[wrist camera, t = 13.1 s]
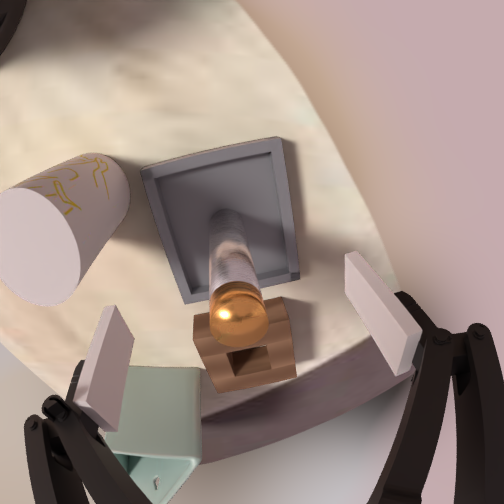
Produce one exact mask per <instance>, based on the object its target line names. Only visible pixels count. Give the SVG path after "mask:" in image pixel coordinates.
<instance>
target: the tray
mask: <svg viewBox="0 0 504 504" xmlns="http://www.w3.org/2000/svg"><path fill="white" fill-rule="evenodd" d="M140 173H141V177H142V180H143V184H144V187H145V190H146V194H147V197H148V200H149V204H150V207H151V210H152V213H153V216H154V219H155V223H156V226H157V229H158V232H159V235H160V238H161V241H162V244H163V247H164V249H165V252H166V255H167V258H168V261H169V264H170V266H171V269H172V272H173V275H174V277H175V280H176V283H177V285H178V288H179V291H180V293H181V296H182V299H183V301H184V304H190V303H195V302H200V301H205V300H209V242H210V220H211V217H212V216H213V215H214V214H215V213H216V212H217V211H219V210H222V209H231V210H234V211H236V212H237V213H238V214H239V215H240V217H241V219H242V223H243V227H244V230H245V234H246V238H247V242H248V245H249V249H250V253H251V257H252V260H253V264H254V268H255V272H256V275H257V279H258V283H259V287H260V288H265V287H269V286H274V285H278V284H282V283H286V282H291V281H295V280H299V279H300V271H299V262H298V254H297V245H296V237H295V229H294V222H293V214H292V207H291V200H290V193H289V186H288V179H287V172H286V166H285V159H284V153H283V147H282V141H281V138H280V137H277V136H276V137H270V138H264V139H258V140H253V141H248V142H242V143H237V144H233V145H228V146H223V147H219V148H214V149H210V150H205V151H201V152H197V153H193V154H189V155H185V156H181V157H177V158H174V159H170V160H166V161H163V162H159V163H155V164H152V165H149V166H145V167H144V168H142V169H141V170H140Z"/></svg>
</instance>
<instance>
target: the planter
mask: <svg viewBox="0 0 504 504" xmlns="http://www.w3.org/2000/svg"><path fill="white" fill-rule="evenodd" d="M104 440H105V442H106V444H107V445H108V447H109V448H110V449H111V451H112V452H113V454H114V455H115V457H116V458H117V459H118V461H119V462H120V464H121V465H122V466H123V468H124V469H125V470H126V472H127V473H128V474H129V476H130V477H131V478H132V479H133V481H134V482H135V483H136V484H137V486H138V487H139V488H140V489H141V491H142V492H143V493H144V494H145V495H146V496H147V498H148V499H149V500H150V501H151V502H152V503H153V504H168V502H169V501H170V500H171V499H172V498H173V496H174V495H175V494H176V493H177V492H178V490H179V489H180V488H181V487H182V485H183V484H184V483H185V482H186V480H187V479H188V478H189V477H190V475H191V474H192V472H193V471H194V470H195V468H196V467H197V466H198V465H199V463H200V462H201V460H202V438H201V399H200V369H199V368H196V367H146V366H129V367H128V373H127V378H126V383H125V389H124V395H123V400H122V407H121V413H120V420H119V427H118V432H106V433H105V439H104ZM158 477H159V479H160V481H159V484H158V489H157V486H156V483H155V482H156V479H157V478H158Z"/></svg>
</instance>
